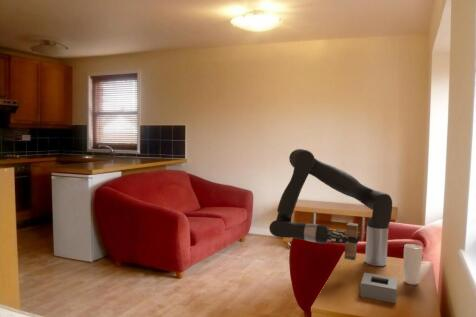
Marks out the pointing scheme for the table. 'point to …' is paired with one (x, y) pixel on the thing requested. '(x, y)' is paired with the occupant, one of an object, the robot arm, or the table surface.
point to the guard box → (379, 287)
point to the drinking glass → (412, 263)
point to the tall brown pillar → (351, 247)
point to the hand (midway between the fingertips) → (358, 239)
